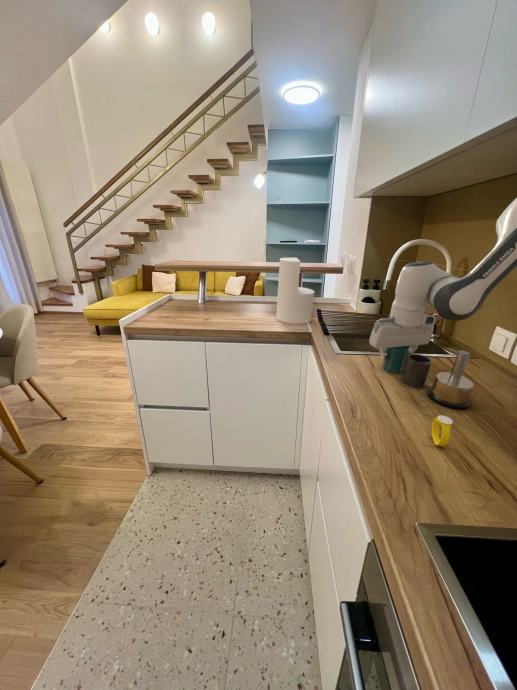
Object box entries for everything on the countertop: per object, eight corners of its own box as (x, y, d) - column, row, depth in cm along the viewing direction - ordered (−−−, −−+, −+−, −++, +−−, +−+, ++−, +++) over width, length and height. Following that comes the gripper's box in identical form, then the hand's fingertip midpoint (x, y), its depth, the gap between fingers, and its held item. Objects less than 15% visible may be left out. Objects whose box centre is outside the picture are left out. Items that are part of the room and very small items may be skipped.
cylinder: (276, 322, 131) (280, 261, 120) (276, 312, 147) (279, 257, 136) (313, 324, 131) (320, 262, 120) (308, 313, 146) (314, 258, 135)
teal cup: (400, 365, 94) (405, 343, 90) (404, 374, 88) (411, 351, 85) (380, 363, 95) (385, 341, 92) (384, 371, 89) (389, 349, 86)
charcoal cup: (420, 378, 86) (427, 355, 82) (427, 389, 80) (435, 364, 77) (399, 376, 87) (405, 352, 84) (404, 386, 81) (410, 361, 78)
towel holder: (460, 391, 79) (476, 346, 74) (477, 412, 70) (497, 363, 65) (422, 386, 81) (435, 342, 76) (434, 406, 72) (450, 358, 67)
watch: (426, 430, 63) (433, 409, 61) (440, 433, 63) (447, 411, 60) (433, 449, 58) (441, 426, 56) (448, 452, 57) (457, 429, 55)
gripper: (383, 321, 79) (373, 365, 84) (441, 318, 84) (428, 359, 89) (369, 315, 85) (361, 356, 90) (424, 312, 90) (414, 351, 95)
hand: (395, 357), depth 90 cm, fingers open, 8 cm apart
